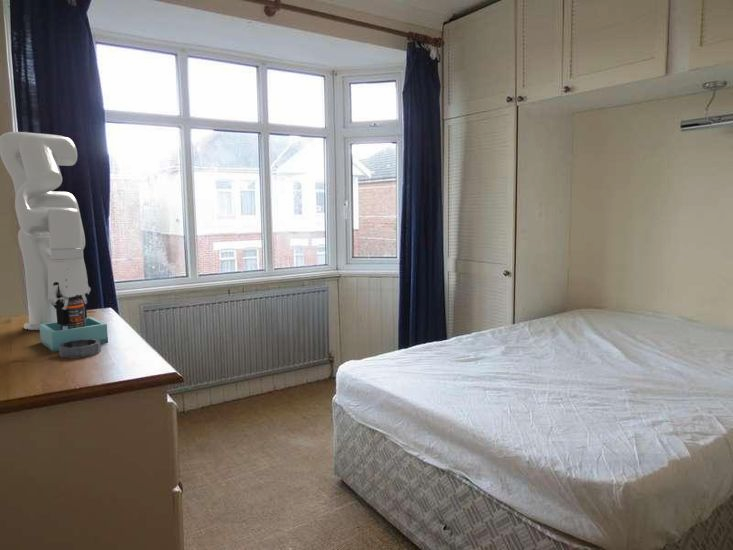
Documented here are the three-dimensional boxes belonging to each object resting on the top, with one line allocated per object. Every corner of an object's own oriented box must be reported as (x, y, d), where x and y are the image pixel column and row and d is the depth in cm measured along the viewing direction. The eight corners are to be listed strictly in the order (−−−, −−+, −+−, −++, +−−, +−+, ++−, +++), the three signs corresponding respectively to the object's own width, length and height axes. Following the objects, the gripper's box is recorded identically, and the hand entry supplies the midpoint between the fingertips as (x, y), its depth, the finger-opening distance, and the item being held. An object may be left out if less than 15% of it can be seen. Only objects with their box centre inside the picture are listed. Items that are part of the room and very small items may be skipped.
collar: (55, 353, 127) (55, 343, 127) (94, 346, 133) (93, 337, 133) (65, 360, 121) (64, 350, 120) (105, 353, 127) (104, 343, 127)
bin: (40, 342, 138) (39, 324, 137) (93, 334, 147) (91, 317, 146) (53, 351, 128) (51, 332, 128) (108, 342, 137) (106, 324, 137)
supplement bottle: (67, 337, 133) (63, 295, 132) (56, 334, 137) (52, 293, 135) (90, 332, 138) (86, 291, 136) (79, 329, 142) (75, 289, 140)
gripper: (75, 252, 143) (80, 314, 146) (29, 258, 126) (35, 328, 129) (100, 252, 143) (105, 314, 145) (57, 258, 126) (63, 329, 128)
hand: (72, 320), depth 137 cm, fingers open, 6 cm apart
